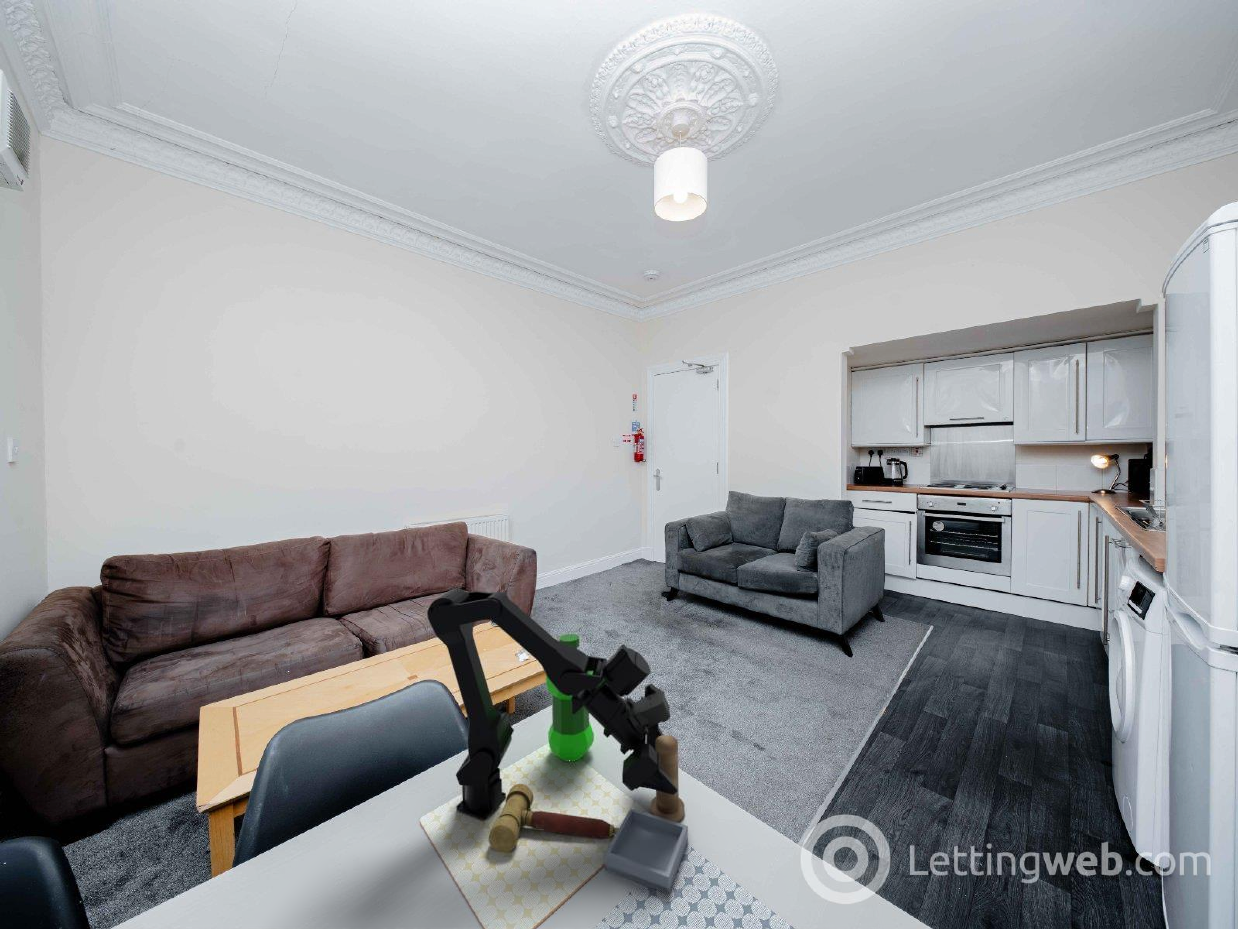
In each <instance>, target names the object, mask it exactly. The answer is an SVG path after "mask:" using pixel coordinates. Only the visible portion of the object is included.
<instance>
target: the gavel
mask: <svg viewBox="0 0 1238 929" xmlns="http://www.w3.org/2000/svg"><path fill="white" fill-rule="evenodd" d="M533 801H534V793H533V790H532V789H531V788H530V787H529V786H528V785H527V784H524V783H517V784H514V785H513V786H511V788H510V789H509V791H508V793H507V794H506V797H505V804H504V805H503V808H502V810H501V812H500V814H499V815H498V818H496V820H495V821H494V823H493V825H492V826H491V828H490V831H489V833H488V837H487V838H488V843H489V846H490V847H491V848H492V849H493V850H494V851H495V852H497V853H498V852H499V853H509V852H511V851H512V850H514V848H515V846H516V844H517V842H518V839H519V836H520V828H522V827H528V828H529V827H530V828H533V829H536V830H538V831H544V832H545V831H546V832H552V833H560V834H564V835H565V834H566V835H572V836H580V837H587V838H594V839H600V840H601V839H603V838H608V837H613V835H614V836H615V835H616V833H617V831H618V829H619V827H614V824H612V823H611V824H610V823H609V822H607V821H605V820H604V819H600V818H595V817H594V818H592V817H585V816H579V815H571V814H565V813H564V814H562V813H557V812H550V811H543V810H539V811H535V810H534V811H532V810H530V809H531V806H532V803H533Z"/></svg>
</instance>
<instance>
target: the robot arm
mask: <svg viewBox="0 0 1238 929" xmlns="http://www.w3.org/2000/svg"><path fill="white" fill-rule="evenodd" d="M426 613H427V614H426V616H427V620H428V622H429V624H430V626H431V628H432V630H433V632H434V633H433V634H434V635H435V636H436V637H437V639H439V640H440V641H441V643H443V644H444V645H445V646H446V649H447V651H448V655H449V659H450V662H451V665H452V668H453V672H454V675H455V679H456V681H457V682H456V683H457V685H458V690H459V692H460V696H461V700H462V702H463V703H462V704H463V705H464V709H465V713H466V716H467V719H468V730H467V741H466V742H467V743H466V744H467V753H468V754H467V756H466V758H465V759H464V760H463V762H462V764H461V765H460V767H459V769H458V771H457V772H456V773H455V777H456V780H457V782H458V784H459V786H461V789H462V790H461V791H462V793H461V794H462V795H461V796H462V800H461V801H460V802H459V803H458V804H457V805H456V807H455V808H456V811H458V812H460V813H463V814H466V815H469V816H471V817H473V818H477V819H479V820H486V819H487V818H488V817H489V816H490V814H491V813H492V812H494V811H495V809H496V808H497V807H498V806H499V805H500V804H501V803H502V801H504V800H505V799H506V798H507V793H506V792H504V791H503V779H502V778H501V769H500V768H499V766H500V765H501V763H502V761H503V759H504V757H505V755H506V753H507V751H508V748H509V747H510V745H511V742H512V740H513V739H512V738H513V737H512V735H513V734H514V732H515V729H514V728H513V727H512V725H511V722H510V717H509V715H510V714H509V712H508V711H505V712H503V713H500V712H499V711H498V710H497V709H496V707H495V706H494V704H493V699H492V697H491V693H490V690H489V686H488V683H487V678H486V674H485V672H484V669H483V666H482V662H481V659H480V655H479V652H478V648H477V645H476V641H475V637H474V623H476V622H479V621H488V620H489V621H492V622H493V624H495V626H497V627H498V628H500V629H501V630H502V631H503V632H505V634H507V635H508V636H509V637H510V638H512V640H514V641H515V642H516V643H517V644H518V645H519V646H521V648H523V649H524V650H525V651H526V652H527V653H529V655H531V656H532V657H533V658H534V659H536V660H537V662H538V663H539V664H540V666H541V667H542V670H543V671H544V673H545V676H546V675H547V677H548V679H549V680H550V681H551V682H552V684H553V685H554V686H555V687H556V688H557V690H558V691H559V692H560V693H562V694H563V695H566V696H569V695H572V697H571V701H572V714H576V713H577V712H578V711H579V710H580V709H581V708H582V707H584V708H585V709H586V710H587V711H588V712H589V715H591V717H592V718H594V720H596V721H597V722H598V723H599V724H600V725H601V726H602V727H603V733H602V734H603V735H604V737H606V738H607V739H608V738H609V737H610V736H612V738H613V739H615V740H616V742H618V744H619V745H620V749H619V751H620V752H621V753H622V755H626V754H627V753H628V752H629V751H632V752H631V753H630V754H629V755H628V756H627V757H626V758H625V759H623V762H622V772H621V773H622V775H621V778H622V779H621V782H622V784H623V785H624V786H625V787H626V788H627V789H628V790H629V791H630V792H634V791H635V790H637V789H639V788H643V789H644V788H645V789H649V790H654V791H656V790H657V791H661V792H665V793H668V794H672V795H674V794H675V793H676V792H677V791H678V790H677V788H676V786H675V785H674V783H673V782H672V781H671V779H670V778H669V777H668V775H667V774H666V773H665V772H664V770H663V769H662V768H661V766H660V765H659V753H656V751H655V740H656V738H658V737H659V736H662V735H664V734H663V732H662V730H661V728H660V726H659V724H661V723H665V722H667V721H669V719H670V718H671V713H670V712H671V711H670V708H671V707H670V704H669V703H668V701H667V698H666V697H665V696H666V694H665V692H664V691H663V690H661V688H658V687H656V686H655V685H654V684H653V683H649V684H647V685H645V686H644V696H643V695H642V696H640V700H637V701H634V700H633V699H632V698H631V697H629V698H628V697H626V698H623V697H624V696H630V695H631V693H632V692H633V691H634V690H636V688H638V687H639V685H640V684H641V683H643V682H644V680H646V678H647V677H648V676H650V675H651V673H652V671H651V667H650V665H649V664H648V662H647V660H646V659H645V657H643V655H641V653H640V652H638V651H636V650H635V649H633V648H630V647H628V646H626V645H625V644H621V645H620V646H619V647H618V649H617V650H616V652H615V653H614V654H613V655H611V657H610V658H608V659H607V658H605V657H599V656H591V655H587V654H586V653H585V652H584V651H581V650H580V649H578V648H575V647H573V646H572V645H570V644H567V643H563V642H560V641H559V640H558V639H556V638H555V637H553V636H552V635H551V634H550V633H549V632H548V631H546V629H544V628H543V627H542V626H541V625H540V624H539V623H537V622H536V621H535V620H534V619H533V618H532V617H531V616H530V615H529V614H527V613H526V612H525V611H523V610H522V609H521V608H520V607H519V606H518V605H517V604H515V603H514V602H513V601H512V600H511V599H510V598H509V596H508V595H507V594H506V593H505V592H502V591H494V592H487V591H480V590H477V591H474V590H473V591H466V590H464V589H462V588H453V589H450V590H449V591H447V592H445V593H444V594H442V595H441V596H439V597H437V598H436V599H434V601H432V602H431V604H430V606H429V607H428V609H427V611H426ZM590 671H593V673H592V675H591V674H589V673H590Z"/></svg>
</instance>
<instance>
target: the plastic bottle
mask: <svg viewBox="0 0 1238 929" xmlns="http://www.w3.org/2000/svg"><path fill="white" fill-rule="evenodd" d="M558 639H559V640H558V641H560V642H563V643H567V644H570V645H572V646H573V647H575V648H577V649H578V648H579V647H580V637H579V635H578V634H574V633H566V634H562V635H561V636H559V638H558ZM592 673H593V671H590V673H589V674H591V675H592ZM545 683H546V687H547V692H548V694H549V693H550V694H551V710H552V711H551V713H552V716H551V717H552V723H551V725H550V727H549V730H548V734H547V735H548V736H547V737H548V746H549V748H550V750H551V752H552V753H553V754H554V755H555V756H557V757H558V758H559V759H561V758H562V759H563V761H564V760H568V761H567V762H571V761H573V762H575V761H574V760H576V761H578V760H580V759H581V758H582V757H584V756H585V754H586V753H587V752H588V750H590V748H591V747H592V746H593V743H594V740H595V735H594V731H593V727H592V725H591V721H590V713H589V712H588V711H587V710H586V709H585V708H584V707H582V708H581V709H580V710H579V711H578V712H577V713H576V714H572V701H571V697H572V695H569V696H566V695H563V694H562V693H560V692H559V691H558V690H557V688H556V687H555V686H554V685H553V684H552V682H551V681H550V680H549V679H548V677H547V675H546V674H545ZM562 759H561V760H562ZM569 760H570V761H569Z"/></svg>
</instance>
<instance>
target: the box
mask: <svg viewBox="0 0 1238 929" xmlns="http://www.w3.org/2000/svg"><path fill="white" fill-rule="evenodd" d="M618 828H619V829H618V831H617V833H616V835H615V834H614V837H613V838H612V840H611V842H610V843H609V846H608V847H607V849H606V851H605V853H604V870H605V871H607V872H610V873H612V874H614V875H617V876H620V877H622V878H625V879H628V880H630V881H633V882H636V883H638V884H641V885H643V886H646V887H648V888H650V889H653V890H656V891H659V892H660V893H661V892H662V893H664V894H667V895H670V892H671V889H672V887H673V883H674V881H675V878H676V876H677V872H678V871H679V867H680V864H681V861H682V858H683V856H684V853H685V851H686V847H687V845H688V841H689V833H688V832H689V830H688V829H689V826H688V825H687V824H682V823H680V822H678V823H677V822H674V821H670V820H667V819H664V818H661V817H658V816H655V815H652V814H651V813H648V812H645V811H641V810H638V809H636V808H635V809H634V808H633V807H630V808H629V810H628V812H627V813H626V815H625V816H624V818H623V821H622V822H621V824H620V826H619V827H618Z"/></svg>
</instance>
